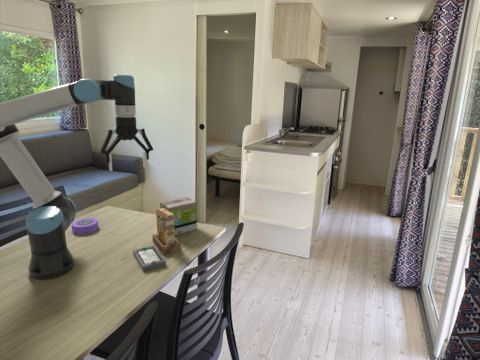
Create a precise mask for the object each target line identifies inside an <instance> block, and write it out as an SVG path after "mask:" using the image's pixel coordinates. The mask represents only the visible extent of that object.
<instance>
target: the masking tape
mask: <svg viewBox="0 0 480 360" xmlns="http://www.w3.org/2000/svg"><path fill="white" fill-rule="evenodd" d="M70 226H71V232H72V233H73V232H74V233H73V234H75V233H76V234H75V235H86V234H91V233H93V232H96V231H97V230H99V220H98V219H97V218H95V217H82V218H78V219H74V220H73V222H72V223H71V224H70Z"/></svg>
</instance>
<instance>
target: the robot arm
mask: <svg viewBox="0 0 480 360" xmlns="http://www.w3.org/2000/svg"><path fill="white" fill-rule="evenodd" d="M96 101H114V110H115V116H116V117H115V129H112V128H107V135H106V137H105V139H104V141H103V143H102V145H101V148H100V150H99V152H100V153H101V154H103V155H104V156H105V162H106V163H107V164H108V169H109V171H110V172H113V158H112V154H111V152H112V151H113V150H114V149H115V148H116V147H117V145H118V144H119V142H121V141H132V140H134V141H135V142H136V143H137V144H138V146H139V147H140V148H141V149H143V151H142V167H143V168H144V169H148V163H147V161H149V159H150V152H151V151H153V150H154V147H153V145H152V144H151V142H150V140H149V138H148V137H147V134H146V131H145V129H144V128H143V127H140V128H137V118H136V115H137V113H136V87H135V78H134V76H132V75H131V74H129V75H128V74H114V75H113V77H112V79H103V78H102V79H100V78H87V77H86V78H81V79H79V80H78V81H77V80H76V81H74V82H70V83H67V84H66V83H65V84H63V85H59V86H56V87H53V88H48V89H45V90H41V91H37V92H34V93H31V94H27V95H24V96H21V97H16V98H12V99H9V100H6V101H2V102H0V158H1V159H2V160H3V162H4V163H5V164H6V166H7V167H8V169H9V170H10V171H11V173H12V174H13V176H14V177H15V178H16V180H17V181H18V182H19V184H20V186H21V187H22V188H23V189H24V191H25V192H26V193H27V195H28V196H29V197H30V199H31V201H32V202H33V204H32V209H33V210H31V211H30V212H28V214H27V215H26V217H25V218H26V219H25V221H26V222H25V228H26V231H27V234H28V235H27V236H28V241H29V247H30V251H31V255H30V261H29V265H28V274H29V276H30V277H31V278H32V279H34V280H41V281H42V280H50V279H55V278H59V277H62V276H63V275H65V274H68V273H69V272H71V270H73V268H74V267H75V259H74V256H73V255H72V254H71V252H70V251H71V250H70V249H69V248H68V245H67V239H66V231H67V230H68V228H69V227H70V226H71V224H72V222H74V221H75V218H76V216H77V206H76V205H75V203H74V202H73V200H72V199H70V197H66V196H64V194H63V193H62V192H61V191H59V190H55V188H54V187H53V185H52V183H50V182H49V180H48V178H47V177H46V176H45V174H44V173H43V171H42V169H41V168H40V167H39V165H38V164H37V162H36V161H35V159H34V158H33V157H32V155H31V154H30V152H29V151H28V149H27V148H26V146H25V145H24V144H23V142H22V140H21V139H20V137H19V136H20V133H21V131H20V130H19V129H18V127H17V126H16V124H19V123H24V122H26V121H30V120H33V119H37V118H40V117H44V116H47V115H50V114H54V113H57V112H61V111H65V110H68V109H73V108H75V107H77V106H83V105H86V104H89V103H92V102H96ZM138 133H139V134H140V135H141V137H142V139H143V141H144V143H145V144H146V146H145V145H144V143H143V142H142V141H141V140H140V139H139V138H138V137H137V136H136V135H137V134H138ZM114 134H116V135H117V136H116V137H115V138H114V140H113V141H112V142H111V139H112V136H113V135H114ZM110 142H111V144H110ZM109 144H110V145H109ZM108 145H109V146H108Z"/></svg>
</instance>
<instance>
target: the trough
mask: <svg viewBox="0 0 480 360" xmlns="http://www.w3.org/2000/svg"><path fill="white" fill-rule="evenodd" d="M152 243H153V244H154V246H155V247H156V248H157V250H158V251H159V252H160V254H161V255H162V256H164V255H168V254H171V253H176V252H180V250H182V249H181V242H180V241H179V240H178V239H177V238H176V237H175V243H174V244H170V245H165V246H163V244H162V243H161V242H160V241H159V239H158V233H156V234H155V233H154V234H152Z"/></svg>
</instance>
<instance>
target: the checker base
mask: <svg viewBox="0 0 480 360" xmlns="http://www.w3.org/2000/svg"><path fill="white" fill-rule="evenodd" d="M148 249H153V250H154V252H155V253H156V255H157V256H158V257H159V259H160V261H152V263H148V264H144V263H143V261H142V260H141V258H140V256H139V255H138V252H139V251H144V250H148ZM132 253H133V256H134V259H135V260H136V261H137V263H138V265H139V268H140V269H141V270H142V272H147V271H150V270H153V269H154V270H155V269H158V268H163V267H166V266H167V261H166V259H165V258H164V257H163V255H162V254H161V252H160V251H159V250H158V248H157V247H156V245H155V244H154V245H150V246H146V245H145V246H141V247H140V248H136V249H133V250H132Z"/></svg>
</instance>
